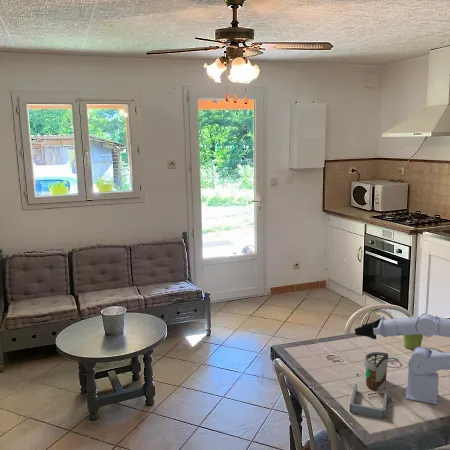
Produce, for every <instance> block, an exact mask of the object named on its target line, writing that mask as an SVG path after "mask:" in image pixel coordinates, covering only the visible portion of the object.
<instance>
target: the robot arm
mask: <svg viewBox="0 0 450 450" xmlns="http://www.w3.org/2000/svg"><path fill="white" fill-rule="evenodd" d="M354 332H355V333H354V335H355V336H361V337H365V338H366V337H367V338H370V339H373V340H377V336H378V335H379V336H381V337H383V338H388V337H396V336H399V337H400V336H404V335H414V334H421V335H423V337H427V338H429V337H432V336H439V337H445V338H450V318H445V317H439V316H438V315H433V314H431V313H427V312H424V313H422V314H420V315H419V316H407V317H396V318H394V317H393V318H386V319H385V315H381V316H380V318H379V319H377V320H375V321H372V322H369V323H364V324H362V325H361V326H359V327H358V326H357V327H356V328H354ZM407 366H408V371H407V372H408V373H407V385H406V386H405V399H406V400H410V401H416V402H422V403H428V404H434V405H437V404H438V396H439V373H438V371H441V370H445V371H446V370H448V371H449V370H450V352H441V351H439V350H437V349H430V348H427V347H426V346H421V347H417V348H415V349H414V350H413V351H412V355H411V357H410V359H409V360H408V364H407Z"/></svg>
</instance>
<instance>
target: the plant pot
mask: <svg viewBox="0 0 450 450" xmlns="http://www.w3.org/2000/svg"><path fill="white" fill-rule="evenodd" d="M423 337H424V335H421V334H414V335H403V342H404V343H403V345H404V347H405V348H406V349H408V350H413V351H414V349H415V348H417V347H422V342H423Z"/></svg>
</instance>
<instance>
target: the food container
mask: <svg viewBox="0 0 450 450" xmlns="http://www.w3.org/2000/svg"><path fill="white" fill-rule="evenodd" d="M388 359H389V353H388V352H382V351H375V352H374V351H373V352H369V353H367V354H366V355H365V357H364V359H363V366H364V367H365V381H366V382H365V384H366V387H367V388H368V389H370V390H371V391H373V392H377V391H378V390H379V389H380V388H381V386H382V385H383V384H385V382H386V381H387V372H388V371H387V370H388V363H389V362H388Z"/></svg>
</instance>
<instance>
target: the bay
mask: <svg viewBox="0 0 450 450" xmlns="http://www.w3.org/2000/svg"><path fill="white" fill-rule="evenodd" d="M357 392H358V383H354V385H353V390H352V394H351V397H350V401H349V412H350V413H354V414H360V415H365V416H370V417H373V418H374V417H375V418H380V419H386V410H387V402H388V388H384V395H383V403H382V408H377V407H372V406H368V405H367V406H366V405H362V404H356V403H355V401H356V398H357Z"/></svg>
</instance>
